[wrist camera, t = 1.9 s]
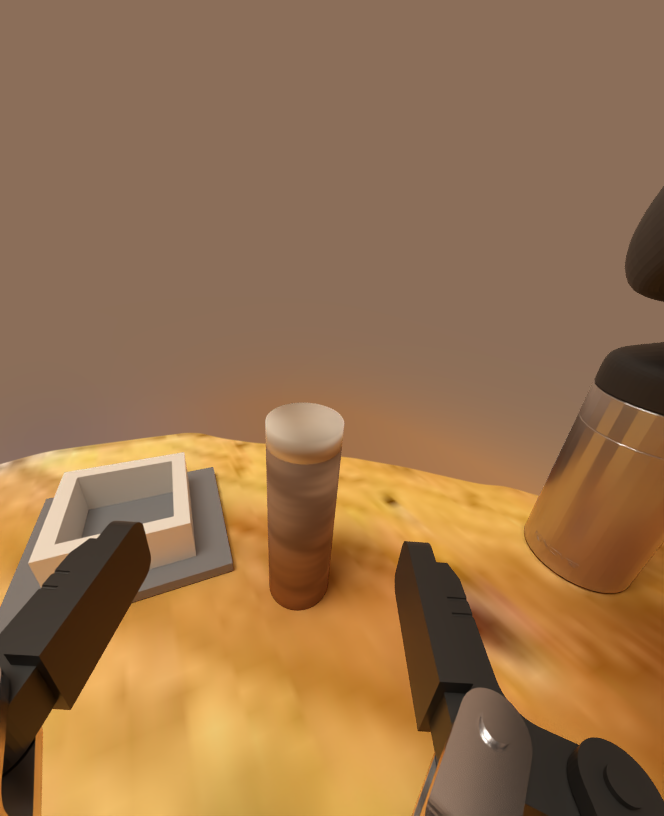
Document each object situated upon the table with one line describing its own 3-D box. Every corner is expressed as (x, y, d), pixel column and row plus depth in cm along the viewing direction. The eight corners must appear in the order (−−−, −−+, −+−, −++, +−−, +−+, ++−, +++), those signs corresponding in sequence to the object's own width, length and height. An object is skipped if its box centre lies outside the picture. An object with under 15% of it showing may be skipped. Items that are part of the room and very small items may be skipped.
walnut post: (315, 549, 31) (325, 398, 24) (337, 596, 27) (358, 433, 20) (263, 566, 29) (257, 407, 22) (278, 619, 25) (277, 448, 18)
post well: (213, 473, 40) (209, 439, 38) (233, 570, 29) (229, 529, 26) (49, 506, 34) (32, 467, 31) (-7, 646, 22) (-40, 601, 20)
